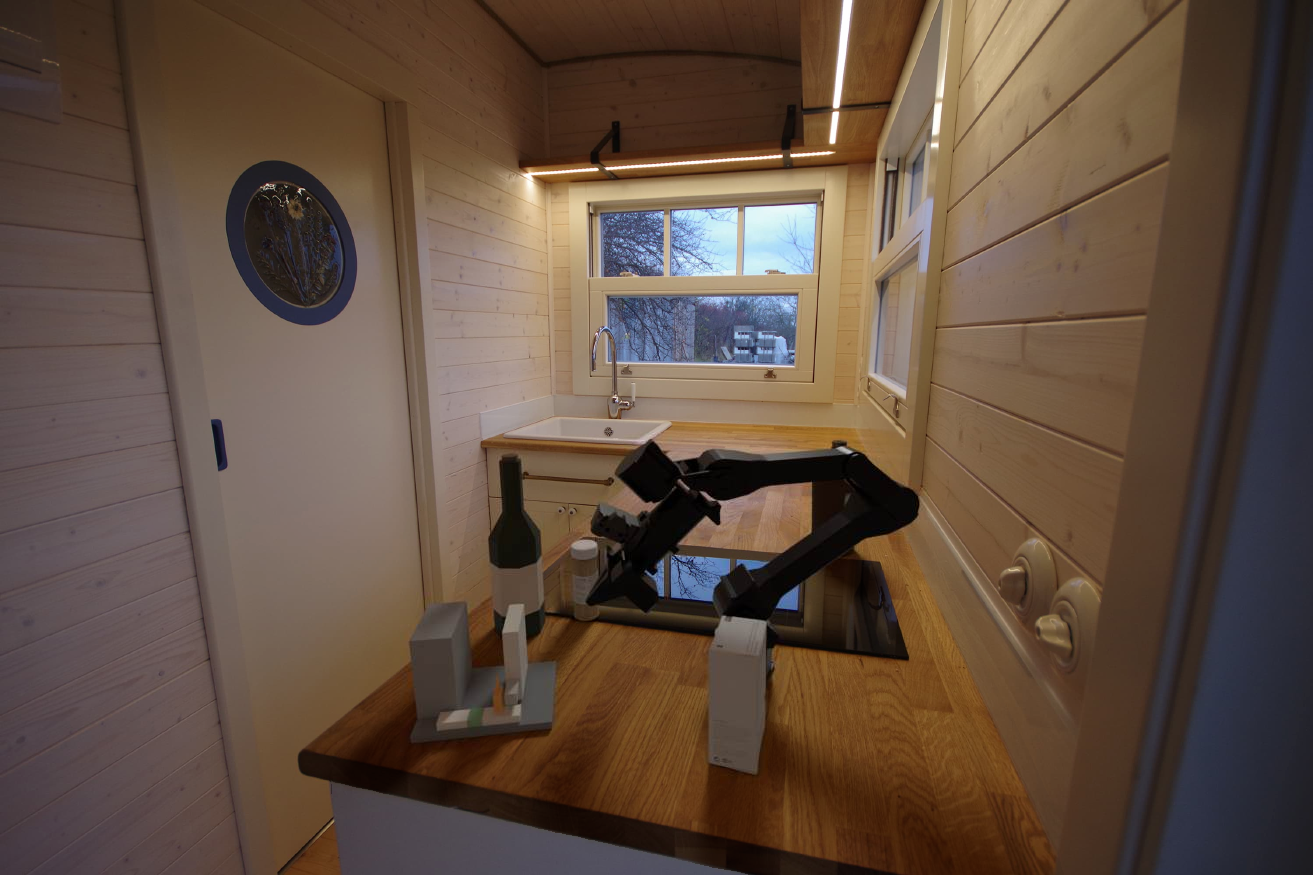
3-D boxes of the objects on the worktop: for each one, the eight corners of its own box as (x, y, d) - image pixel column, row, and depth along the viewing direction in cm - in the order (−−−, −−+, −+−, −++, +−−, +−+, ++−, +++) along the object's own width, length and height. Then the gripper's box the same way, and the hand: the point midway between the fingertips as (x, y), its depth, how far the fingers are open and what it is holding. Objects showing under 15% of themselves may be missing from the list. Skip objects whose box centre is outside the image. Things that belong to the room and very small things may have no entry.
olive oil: (799, 548, 121) (805, 441, 115) (822, 535, 128) (829, 434, 123) (843, 562, 113) (851, 449, 108) (865, 548, 120) (874, 441, 115)
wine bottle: (555, 620, 92) (547, 452, 85) (524, 645, 84) (513, 464, 78) (517, 609, 95) (506, 447, 89) (484, 633, 88) (470, 458, 81)
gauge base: (556, 666, 79) (553, 593, 76) (552, 728, 67) (547, 643, 64) (437, 677, 77) (430, 602, 74) (410, 743, 64) (400, 655, 62)
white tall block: (527, 666, 77) (523, 603, 75) (520, 715, 67) (515, 645, 65) (513, 667, 76) (509, 604, 74) (503, 717, 67) (498, 646, 65)
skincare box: (757, 777, 59) (762, 659, 56) (704, 764, 61) (707, 649, 58) (765, 724, 67) (770, 619, 64) (718, 714, 69) (721, 611, 66)
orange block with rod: (504, 702, 68) (502, 671, 67) (502, 712, 66) (500, 681, 65) (496, 702, 68) (494, 672, 67) (494, 712, 66) (491, 681, 65)
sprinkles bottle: (590, 605, 96) (588, 536, 93) (604, 616, 93) (602, 544, 90) (568, 614, 93) (565, 543, 90) (582, 625, 90) (579, 551, 87)
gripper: (621, 466, 79) (549, 539, 80) (631, 508, 61) (537, 602, 62) (672, 514, 81) (602, 584, 82) (697, 568, 63) (606, 657, 64)
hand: (587, 603), depth 72 cm, fingers closed
